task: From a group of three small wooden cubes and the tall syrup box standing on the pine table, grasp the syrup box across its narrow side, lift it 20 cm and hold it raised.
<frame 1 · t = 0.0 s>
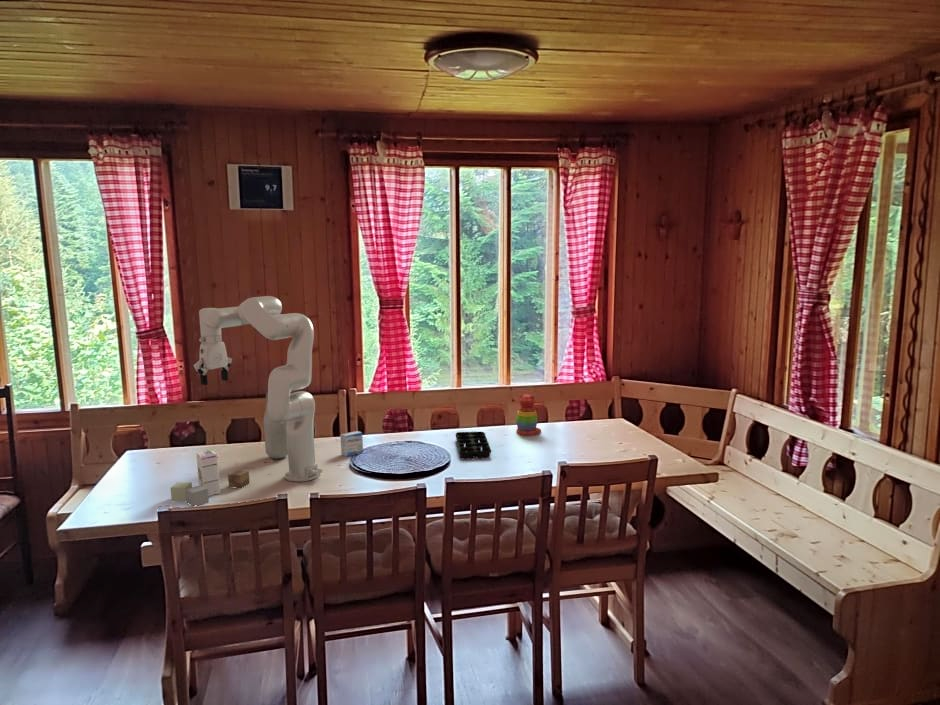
hand: (214, 382, 264), 31 cm above the table, tool pointing down, fingers open, 9 cm apart
stacking bear: (527, 433, 298), on the table
walnut cube: (239, 485, 237), on the table
glass bottle: (278, 458, 269), on the table
egg carton: (472, 449, 277), on the table
sage green cube: (182, 499, 225), on the table
syrup box: (210, 493, 230), on the table
medicine box: (352, 454, 272), on the table
slate grey cube: (197, 503, 221), on the table
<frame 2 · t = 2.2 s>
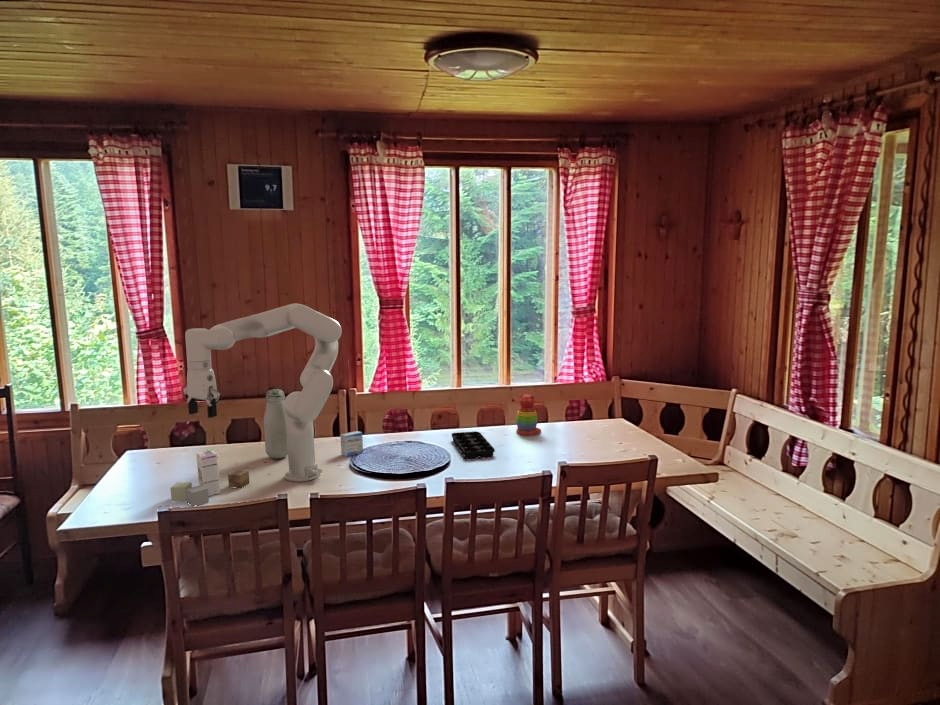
hand: (202, 415, 226), 28 cm above the table, tool pointing down, fingers open, 9 cm apart
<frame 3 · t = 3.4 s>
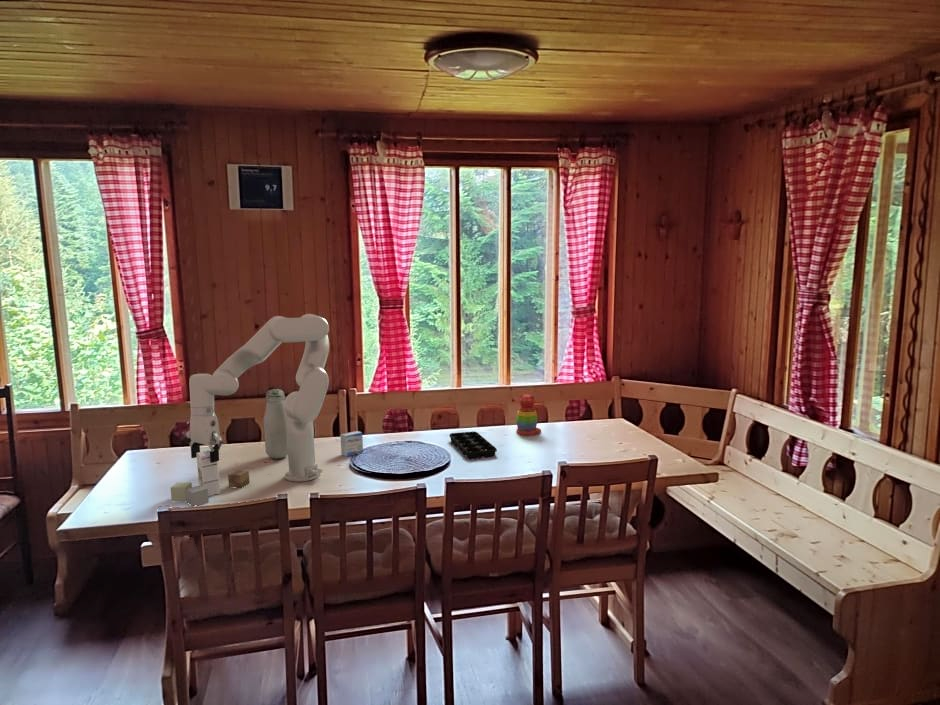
hand: (205, 459, 228), 12 cm above the table, tool pointing down, fingers open, 9 cm apart
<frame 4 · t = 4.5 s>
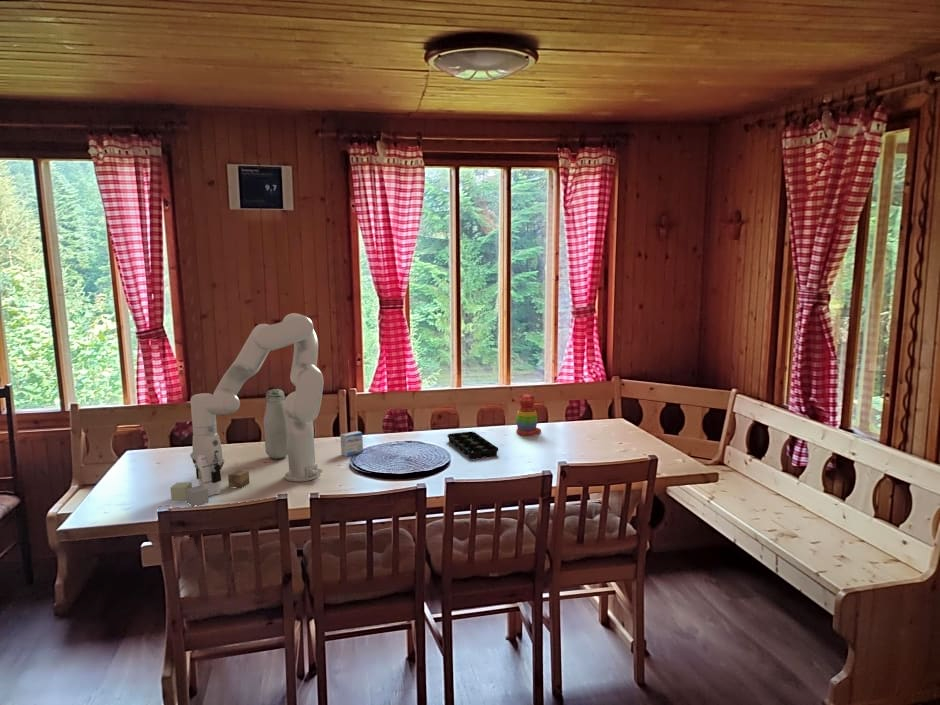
hand: (208, 479, 229), 5 cm above the table, tool pointing down, fingers closed on syrup box, 7 cm apart
syrup box: (210, 493, 230), on the table, touching gripper
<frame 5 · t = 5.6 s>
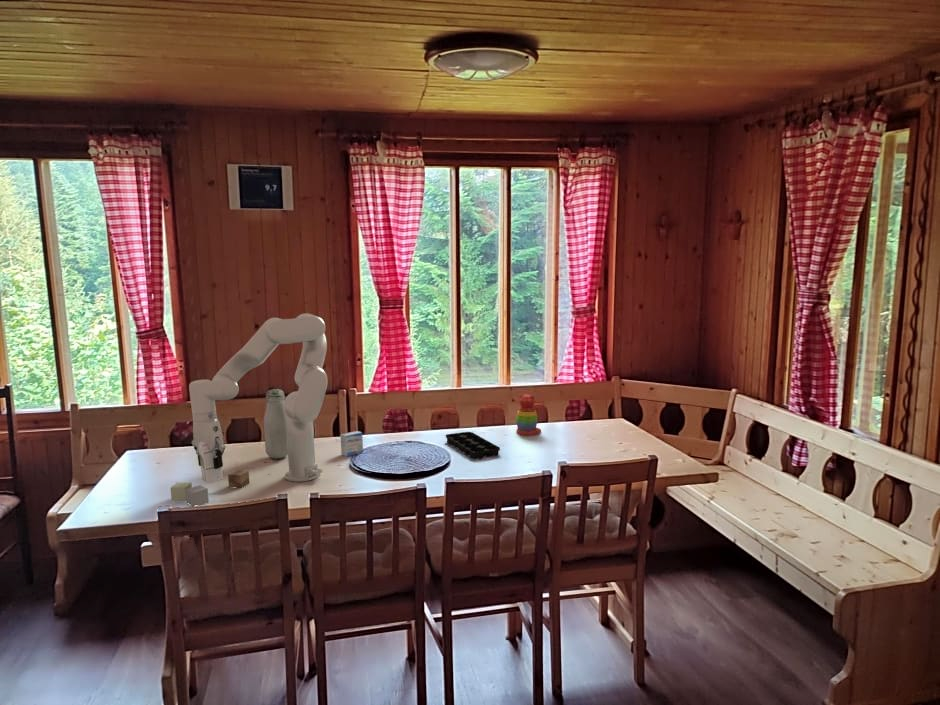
hand: (210, 465, 229), 10 cm above the table, tool pointing down, fingers closed on syrup box, 7 cm apart
syrup box: (212, 480, 230), point 4 cm above the table, touching gripper
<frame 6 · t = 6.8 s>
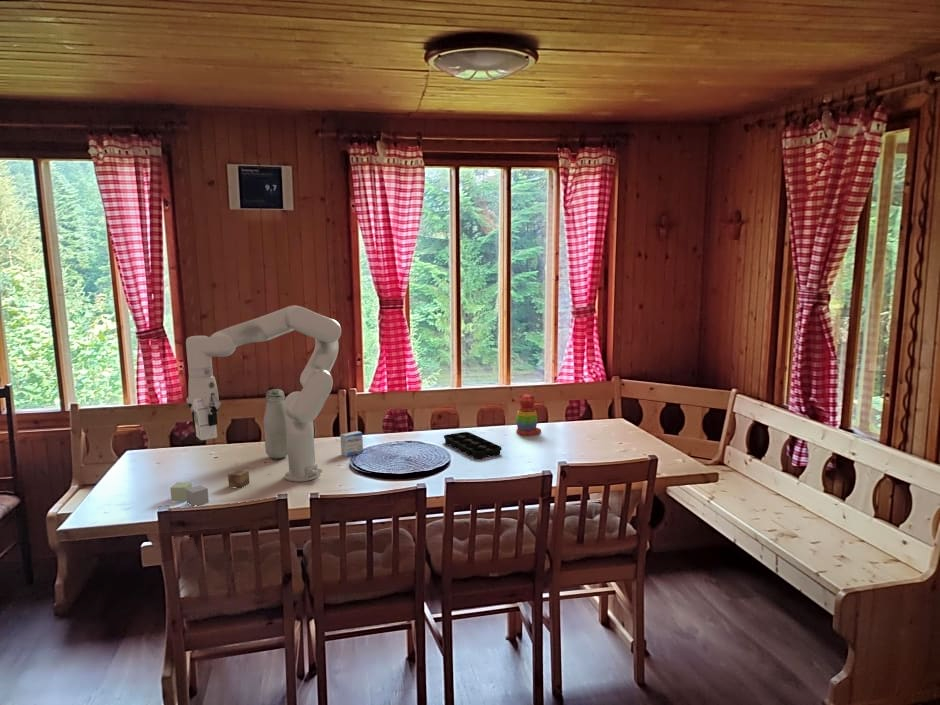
hand: (205, 423, 227), 25 cm above the table, tool pointing down, fingers closed on syrup box, 7 cm apart
syrup box: (206, 438, 228), point 19 cm above the table, touching gripper
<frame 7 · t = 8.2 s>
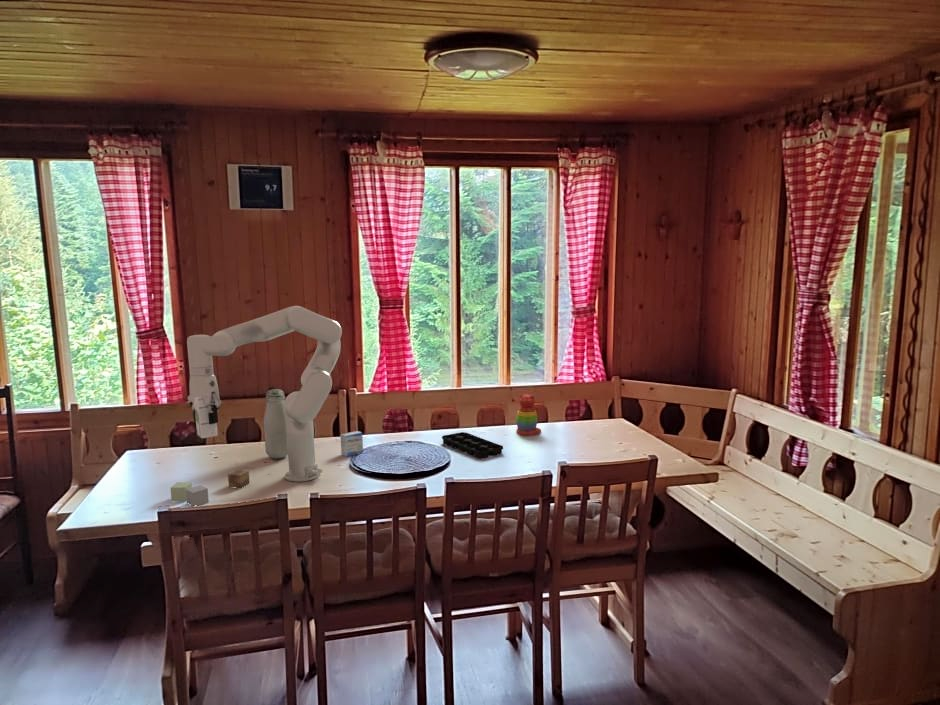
hand: (206, 421, 229), 25 cm above the table, tool pointing down, fingers closed on syrup box, 7 cm apart
syrup box: (207, 436, 230), point 20 cm above the table, touching gripper
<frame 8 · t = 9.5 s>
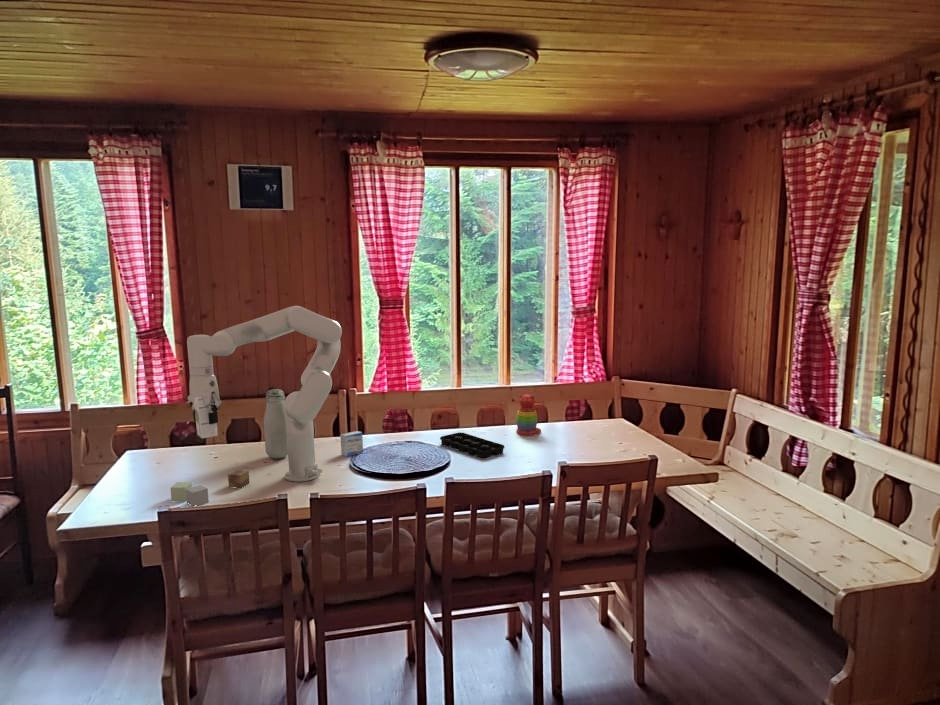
hand: (206, 421, 229), 25 cm above the table, tool pointing down, fingers closed on syrup box, 7 cm apart
syrup box: (207, 436, 230), point 20 cm above the table, touching gripper
at the end: the gripper is holding syrup box; syrup box point 19.5 cm above the table; slate grey cube moved 0.1 cm from its start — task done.
